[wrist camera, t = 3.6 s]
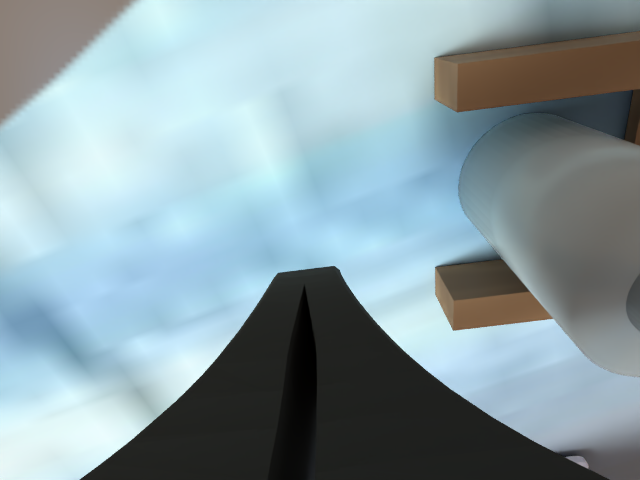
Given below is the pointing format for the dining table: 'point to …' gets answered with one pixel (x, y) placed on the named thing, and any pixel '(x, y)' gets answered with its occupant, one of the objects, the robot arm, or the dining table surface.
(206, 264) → the dining table surface
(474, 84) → the cradle
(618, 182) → the bottle
